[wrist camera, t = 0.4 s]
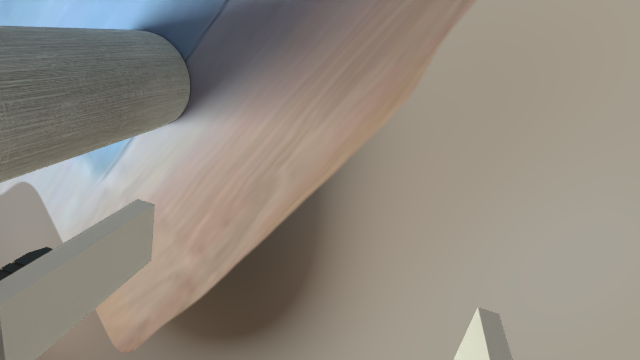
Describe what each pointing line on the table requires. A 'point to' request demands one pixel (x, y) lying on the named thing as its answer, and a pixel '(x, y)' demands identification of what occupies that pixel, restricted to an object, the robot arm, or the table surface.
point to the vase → (82, 91)
